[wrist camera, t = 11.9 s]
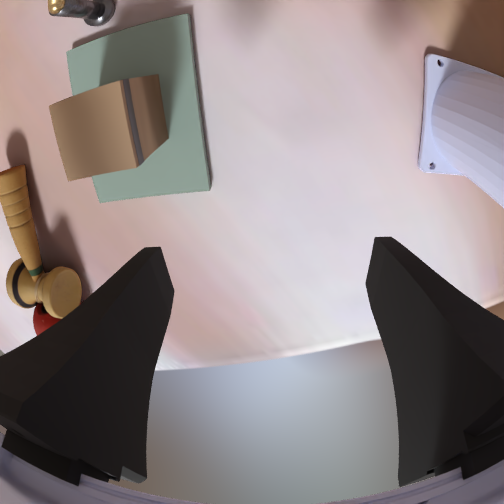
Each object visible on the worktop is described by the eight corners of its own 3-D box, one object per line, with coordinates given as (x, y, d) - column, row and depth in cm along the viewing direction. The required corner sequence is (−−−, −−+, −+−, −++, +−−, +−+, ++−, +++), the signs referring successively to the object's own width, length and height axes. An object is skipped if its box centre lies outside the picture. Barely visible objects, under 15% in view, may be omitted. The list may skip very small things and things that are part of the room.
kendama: (0, 169, 18) (51, 325, 27) (-41, 190, 13) (32, 364, 21) (62, 151, 19) (108, 324, 28) (23, 168, 14) (94, 368, 22)
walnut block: (158, 73, 13) (120, 80, 9) (169, 138, 16) (137, 168, 12) (98, 90, 14) (48, 105, 10) (110, 149, 16) (68, 181, 12)
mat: (189, 15, 12) (187, 13, 11) (211, 186, 18) (209, 190, 18) (71, 51, 12) (66, 51, 12) (103, 199, 19) (99, 203, 18)
